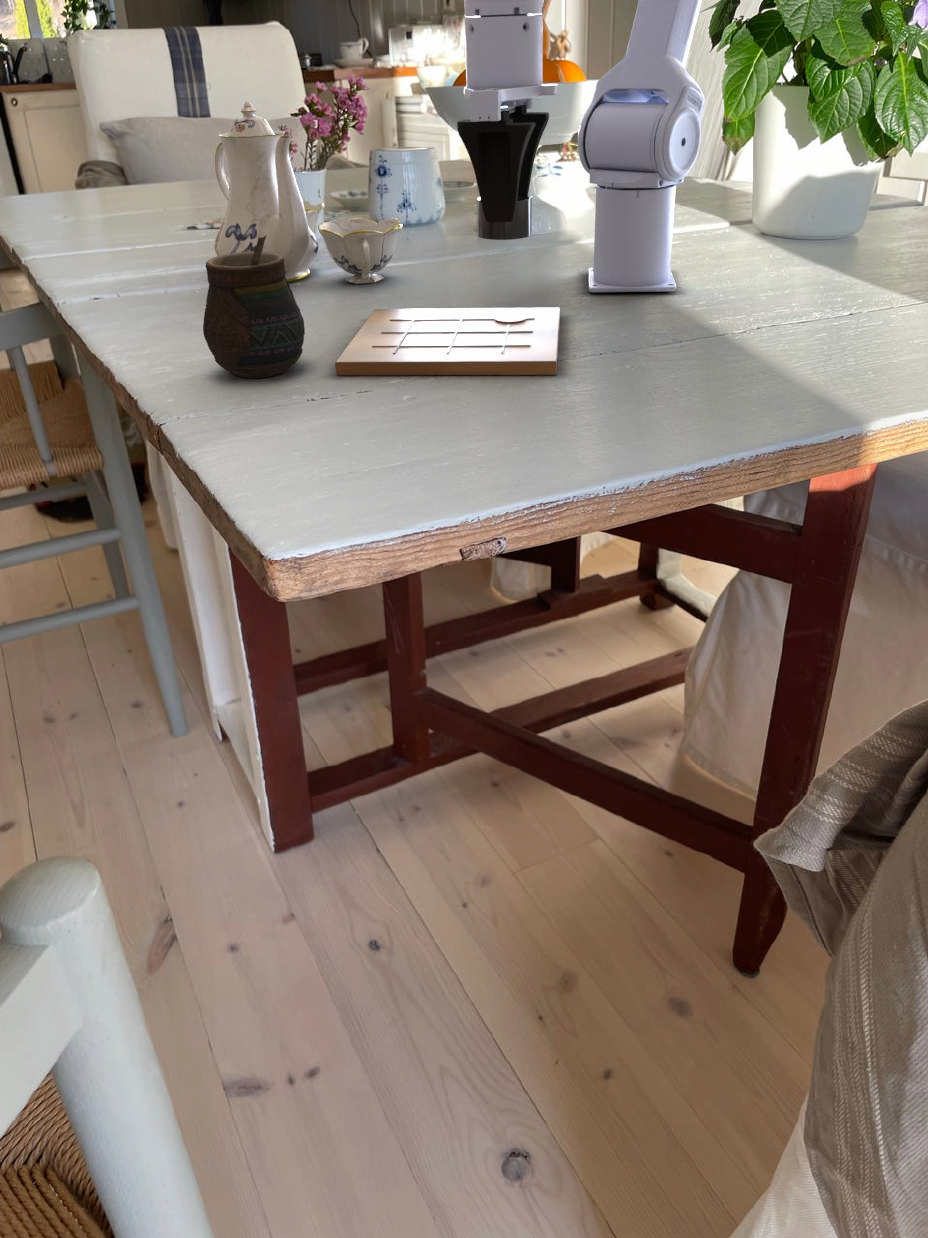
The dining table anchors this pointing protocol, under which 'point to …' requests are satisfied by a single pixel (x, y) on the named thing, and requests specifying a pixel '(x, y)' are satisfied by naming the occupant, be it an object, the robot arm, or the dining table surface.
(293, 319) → the mate gourd
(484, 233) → the short grey cylinder
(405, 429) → the dining table surface
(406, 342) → the board
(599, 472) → the dining table surface
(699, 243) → the dining table surface
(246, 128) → the chinaware
